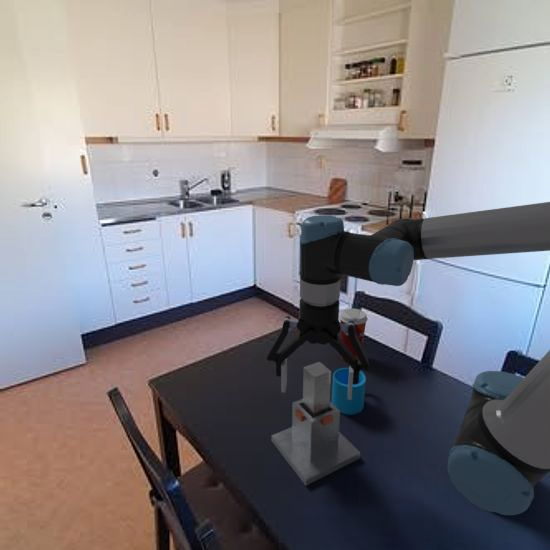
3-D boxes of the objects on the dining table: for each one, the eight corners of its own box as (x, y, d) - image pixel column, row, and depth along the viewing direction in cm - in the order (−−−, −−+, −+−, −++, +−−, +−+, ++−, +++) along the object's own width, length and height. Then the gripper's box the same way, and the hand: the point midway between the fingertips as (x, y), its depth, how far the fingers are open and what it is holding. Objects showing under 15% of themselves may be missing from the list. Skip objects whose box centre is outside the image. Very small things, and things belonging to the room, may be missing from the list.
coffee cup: (366, 364, 119) (370, 319, 114) (339, 364, 119) (341, 319, 114) (361, 350, 127) (364, 307, 122) (335, 350, 127) (337, 307, 122)
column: (328, 445, 87) (332, 371, 80) (312, 453, 85) (314, 377, 78) (317, 433, 91) (319, 361, 84) (301, 440, 89) (302, 367, 82)
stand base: (360, 458, 86) (363, 414, 82) (305, 485, 80) (306, 439, 75) (321, 419, 97) (323, 378, 93) (271, 440, 91) (270, 398, 87)
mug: (353, 419, 97) (355, 391, 94) (325, 405, 102) (326, 378, 100) (376, 395, 106) (379, 369, 103) (350, 383, 111) (351, 358, 108)
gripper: (386, 294, 77) (377, 387, 84) (259, 286, 81) (261, 375, 89) (389, 311, 70) (379, 410, 77) (250, 302, 74) (253, 396, 82)
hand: (316, 392), depth 83 cm, fingers open, 13 cm apart
